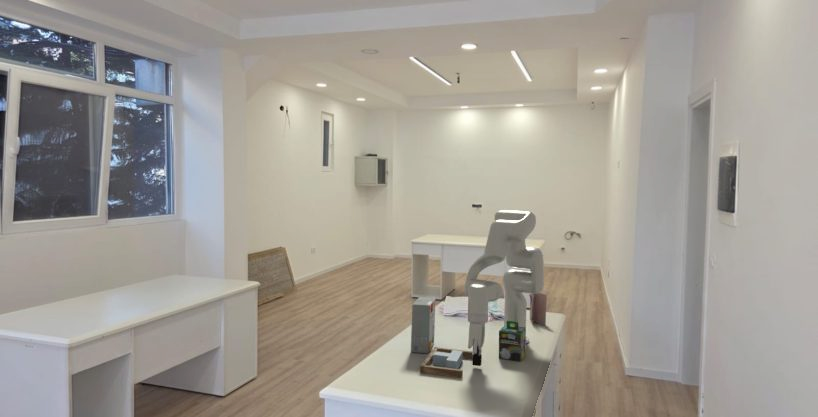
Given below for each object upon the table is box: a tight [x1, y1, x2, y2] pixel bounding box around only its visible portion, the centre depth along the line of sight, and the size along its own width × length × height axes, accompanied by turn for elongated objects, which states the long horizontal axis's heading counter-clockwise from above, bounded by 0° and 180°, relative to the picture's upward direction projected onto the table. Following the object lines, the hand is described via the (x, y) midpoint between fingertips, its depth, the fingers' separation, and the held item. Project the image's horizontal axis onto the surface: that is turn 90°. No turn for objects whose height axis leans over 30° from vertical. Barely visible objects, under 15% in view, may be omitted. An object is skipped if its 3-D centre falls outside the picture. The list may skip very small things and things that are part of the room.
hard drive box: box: [410, 296, 436, 354], centre depth 223 cm, size 16×8×20 cm, turn 168°
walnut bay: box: [419, 346, 473, 379], centre depth 203 cm, size 23×16×2 cm
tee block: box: [432, 349, 464, 369], centre depth 203 cm, size 12×10×4 cm
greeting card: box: [528, 292, 547, 326], centre depth 265 cm, size 11×7×15 cm, turn 174°
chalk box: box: [498, 321, 527, 362], centre depth 213 cm, size 9×9×15 cm
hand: (476, 364), depth 200 cm, fingers closed
